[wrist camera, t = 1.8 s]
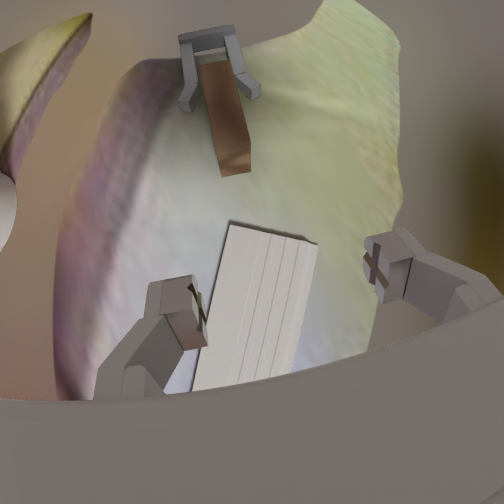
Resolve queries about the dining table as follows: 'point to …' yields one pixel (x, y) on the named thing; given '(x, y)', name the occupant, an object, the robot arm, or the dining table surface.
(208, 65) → the walnut plank
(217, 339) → the baseboard molding
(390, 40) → the dining table surface
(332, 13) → the dining table surface
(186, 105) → the grey channel
